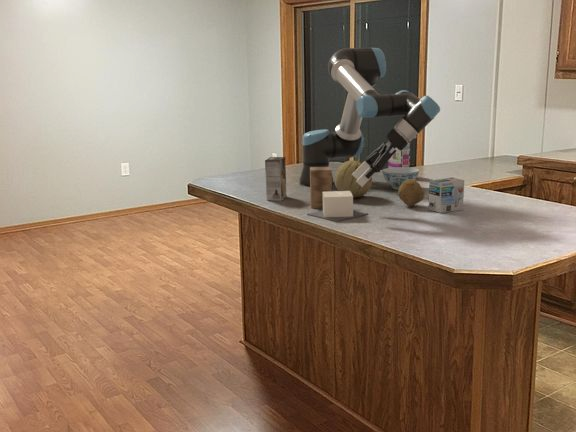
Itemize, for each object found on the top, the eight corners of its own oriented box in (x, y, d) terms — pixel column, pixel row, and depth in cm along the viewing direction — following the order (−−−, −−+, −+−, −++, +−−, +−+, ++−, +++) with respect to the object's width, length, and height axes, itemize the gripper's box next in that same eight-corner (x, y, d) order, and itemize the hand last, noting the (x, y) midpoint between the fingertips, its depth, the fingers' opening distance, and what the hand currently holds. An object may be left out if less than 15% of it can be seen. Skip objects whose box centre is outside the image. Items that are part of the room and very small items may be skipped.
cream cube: (350, 210, 219) (350, 190, 217) (353, 216, 209) (353, 196, 208) (322, 210, 219) (322, 191, 217) (324, 217, 210) (324, 197, 208)
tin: (330, 203, 233) (330, 166, 230) (332, 207, 226) (331, 169, 222) (310, 203, 233) (309, 167, 230) (311, 208, 226) (310, 170, 222)
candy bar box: (410, 177, 282) (410, 142, 278) (401, 178, 280) (401, 142, 276) (396, 174, 291) (396, 139, 288) (387, 175, 289) (387, 140, 286)
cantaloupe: (326, 198, 242) (326, 160, 239) (349, 192, 253) (349, 156, 249) (357, 202, 232) (357, 163, 229) (379, 196, 243) (379, 158, 239)
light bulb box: (440, 213, 212) (441, 182, 210) (427, 209, 218) (428, 180, 215) (464, 209, 217) (465, 179, 214) (450, 206, 223) (451, 176, 220)
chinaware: (408, 192, 248) (408, 174, 246) (375, 189, 257) (375, 171, 255) (424, 186, 260) (425, 168, 258) (392, 183, 269) (393, 166, 267)
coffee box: (271, 195, 250) (270, 156, 246) (286, 196, 249) (285, 156, 245) (266, 200, 241) (264, 160, 238) (282, 200, 240) (280, 160, 236)
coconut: (392, 205, 227) (392, 178, 225) (412, 202, 230) (413, 176, 228) (406, 209, 219) (407, 182, 217) (427, 206, 222) (427, 179, 220)
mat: (337, 208, 225) (337, 206, 225) (367, 214, 213) (367, 213, 213) (307, 214, 215) (307, 213, 215) (336, 222, 204) (336, 220, 204)
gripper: (416, 147, 196) (369, 195, 200) (402, 138, 220) (360, 181, 224) (399, 131, 195) (352, 179, 198) (387, 124, 219) (345, 167, 223)
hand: (356, 180), depth 211 cm, fingers open, 13 cm apart
